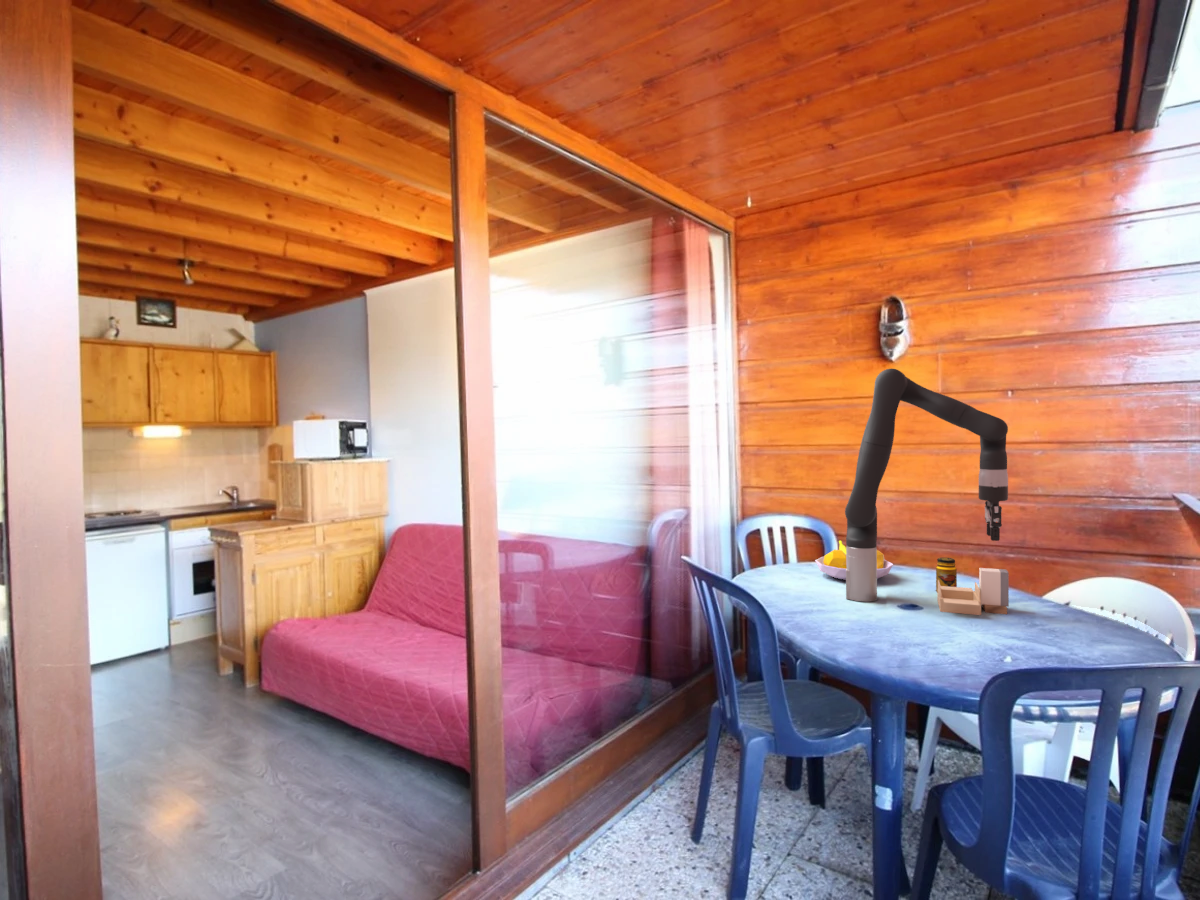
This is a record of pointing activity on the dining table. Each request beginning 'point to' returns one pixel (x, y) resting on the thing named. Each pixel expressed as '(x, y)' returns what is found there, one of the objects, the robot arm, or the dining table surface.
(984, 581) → the box
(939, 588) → the wooden tray
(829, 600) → the dining table surface
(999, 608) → the stand
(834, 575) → the fruit bowl
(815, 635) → the dining table surface
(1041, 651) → the dining table surface
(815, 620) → the dining table surface
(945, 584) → the condiment
